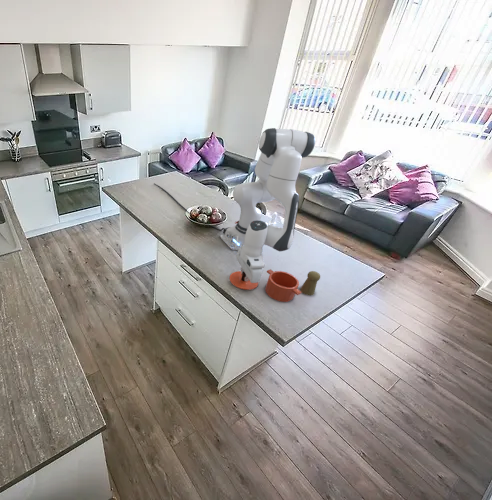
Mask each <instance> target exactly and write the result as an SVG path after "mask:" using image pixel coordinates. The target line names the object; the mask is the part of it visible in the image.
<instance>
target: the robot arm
mask: <svg viewBox="0 0 492 500" xmlns="http://www.w3.org/2000/svg"><path fill="white" fill-rule="evenodd" d="M261 133H262V134H261V135H260V137H259V140H258V149H259V152H260V154H259V157H258V160H257V162H256V165H255V167H254V174H255V176H256V177H257V178H259V179H258V180H257V181H251V182H243V183H239V184H236V186H235V187H234V188H233V190H232V197H233V200H234V202H236V204H238V206H239V208H240V215H239V219H238V220H237V221H235V222H234V224H235V225H233V226H227V227H222V228H217V227H216V226H214V225H213V226H211V228H213V229H215V230H217V231H219V232H222V233H221V234H220V236H219V238H220V239H221V240H222V241H223V242H224V243H225V245H227V247H229V249H230V250H232V251H237V252H236V256H235V258H236V261H237V263H238V264H239V266H240V271H241V275H242V274H243V272H245V274H246V277H244V280H245V281H249V280H250V282H251V283H258V284H259V282H260V281H261V279H262V275H263V271H264V270H263V269H265V268H266V263H265V261H264V257H263V254H262V253H263V247H264V245H265V246H267V247H270V248H272V249H274V250H275V251H277V252H279V253H280V252H285V251H287V250H290V248H291V247H292V245H293V243H294V239H295V228H296V222H297V217H298V212H299V205H300V195H299V194H298V193H297V189H296V183H297V179H298V176H299V173H300V169H301V165H302V159H304V158H307V157H308V156H309V155H311V153H312V152H313V150H314V148H315V145H316V137H315V135H314V134H313V133H311V132H309V131H303V130H297V129H291V128H289V129H288V128H275V127H271V128H266V129H265V130H264V131H263V132H261ZM153 185H154V186H157V187H158V188H160V189H161V190H162V191H164V192H165V193H166V194H167V195H168V196H169V197H171V199H172V200H174V202H175V203H176V204H178V205H179V207H181V208H182V209H183V210H184V211H185V212H187V210H188V209H186V208H185V207H184V206H183V205H182V204H181V203H180V202H179V201H178V200H177V199H176V198H175V197H173V195H171V193H169V192H168V191H167V190H165V189H164V187H162V186H160V185H158V184H156V183H155V182H154V183H153ZM275 200H276V201H277V202H278V203H279V204H281V206H282V207H283V208H284V219H283V224H282V227H280V226H277V225H276V224H274V225H272V224H270V223H269V222H266V221H263V220H262V217H263V213H262V211H261V210H260V208H258V207H257V204H259V203H268V202H272V201H275Z"/></svg>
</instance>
